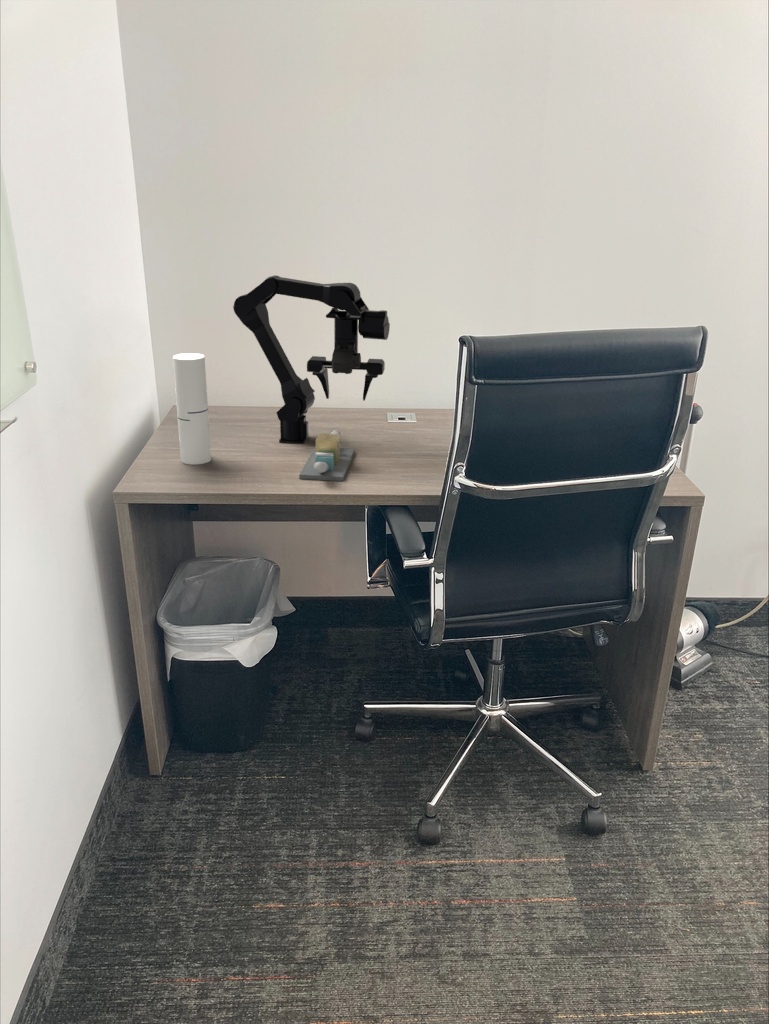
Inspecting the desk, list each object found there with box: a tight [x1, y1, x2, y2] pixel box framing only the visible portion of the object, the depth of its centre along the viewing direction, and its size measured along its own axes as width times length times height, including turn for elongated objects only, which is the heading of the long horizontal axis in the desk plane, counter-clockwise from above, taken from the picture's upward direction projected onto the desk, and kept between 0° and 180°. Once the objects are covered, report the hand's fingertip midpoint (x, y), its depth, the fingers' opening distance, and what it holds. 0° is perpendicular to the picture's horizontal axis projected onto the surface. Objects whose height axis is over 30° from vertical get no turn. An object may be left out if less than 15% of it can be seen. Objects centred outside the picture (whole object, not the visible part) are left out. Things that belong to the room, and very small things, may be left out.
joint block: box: [315, 433, 341, 465], centre depth 191 cm, size 5×5×6 cm
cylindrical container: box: [172, 352, 212, 466], centre depth 190 cm, size 7×7×25 cm
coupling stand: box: [298, 429, 355, 482], centre depth 192 cm, size 10×26×5 cm, turn 175°
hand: (345, 399), depth 203 cm, fingers open, 9 cm apart
